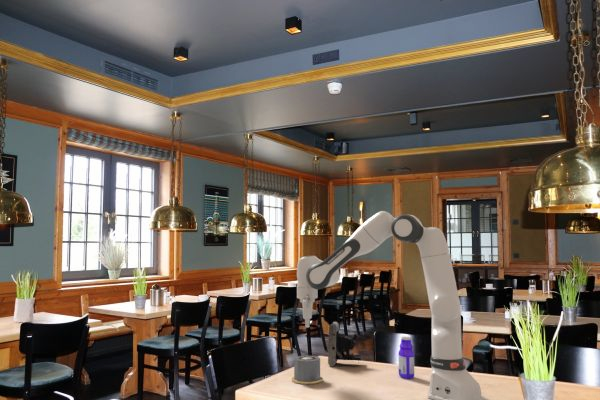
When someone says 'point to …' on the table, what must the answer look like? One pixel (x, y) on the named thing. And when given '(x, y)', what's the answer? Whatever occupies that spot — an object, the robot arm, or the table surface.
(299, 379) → the lens barrel
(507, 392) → the table surface
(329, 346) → the vintage camera
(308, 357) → the camera lens
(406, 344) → the bottle
